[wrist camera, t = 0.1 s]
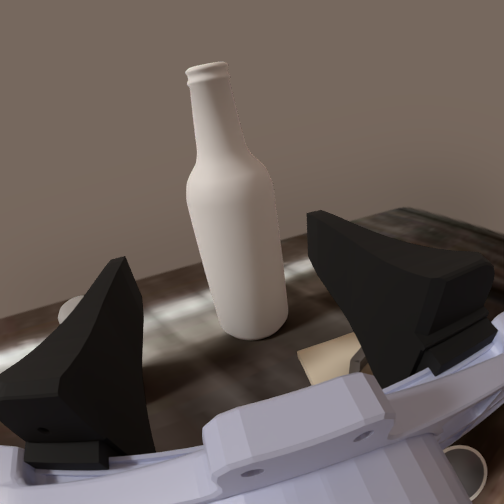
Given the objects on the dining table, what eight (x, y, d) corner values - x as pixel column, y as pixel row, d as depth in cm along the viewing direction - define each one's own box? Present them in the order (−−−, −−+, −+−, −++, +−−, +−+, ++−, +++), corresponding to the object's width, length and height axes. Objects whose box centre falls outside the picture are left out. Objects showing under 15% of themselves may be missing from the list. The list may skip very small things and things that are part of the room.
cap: (465, 501, 15) (498, 479, 12) (417, 532, 14) (443, 519, 11) (442, 462, 19) (467, 433, 16) (394, 489, 19) (413, 467, 16)
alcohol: (211, 312, 43) (152, 79, 28) (269, 289, 45) (232, 64, 30) (236, 354, 36) (168, 68, 20) (302, 324, 38) (271, 53, 23)
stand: (478, 410, 22) (489, 395, 21) (356, 479, 20) (361, 470, 19) (402, 317, 36) (405, 300, 34) (297, 355, 34) (296, 338, 33)
